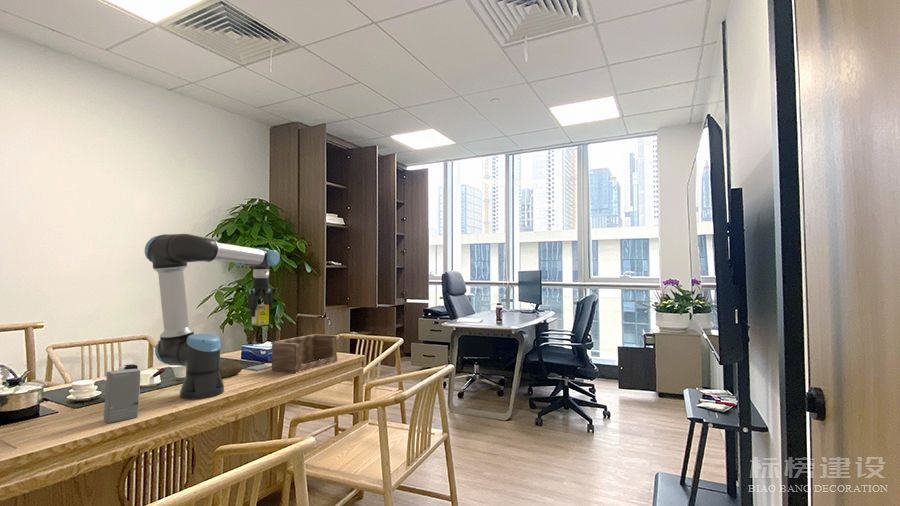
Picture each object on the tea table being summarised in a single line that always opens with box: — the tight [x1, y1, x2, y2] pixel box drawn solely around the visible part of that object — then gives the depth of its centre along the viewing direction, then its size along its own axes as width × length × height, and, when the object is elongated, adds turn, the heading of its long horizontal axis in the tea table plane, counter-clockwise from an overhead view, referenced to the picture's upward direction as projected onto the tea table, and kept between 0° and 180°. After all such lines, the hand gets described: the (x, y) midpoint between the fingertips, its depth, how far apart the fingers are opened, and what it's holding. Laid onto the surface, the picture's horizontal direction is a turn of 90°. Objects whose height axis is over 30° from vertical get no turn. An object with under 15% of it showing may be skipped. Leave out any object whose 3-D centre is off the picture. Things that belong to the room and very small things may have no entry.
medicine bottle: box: [117, 363, 141, 396], centre depth 162 cm, size 7×7×12 cm
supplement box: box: [251, 304, 270, 328], centre depth 211 cm, size 6×6×11 cm
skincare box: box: [103, 368, 141, 424], centre depth 137 cm, size 8×7×16 cm
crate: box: [270, 333, 339, 374], centre depth 216 cm, size 31×16×14 cm, turn 155°
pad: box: [245, 364, 272, 372], centre depth 210 cm, size 9×9×1 cm
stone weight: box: [219, 361, 243, 379], centre depth 192 cm, size 15×7×7 cm, turn 161°
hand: (260, 322), depth 211 cm, fingers closed on supplement box, 6 cm apart
